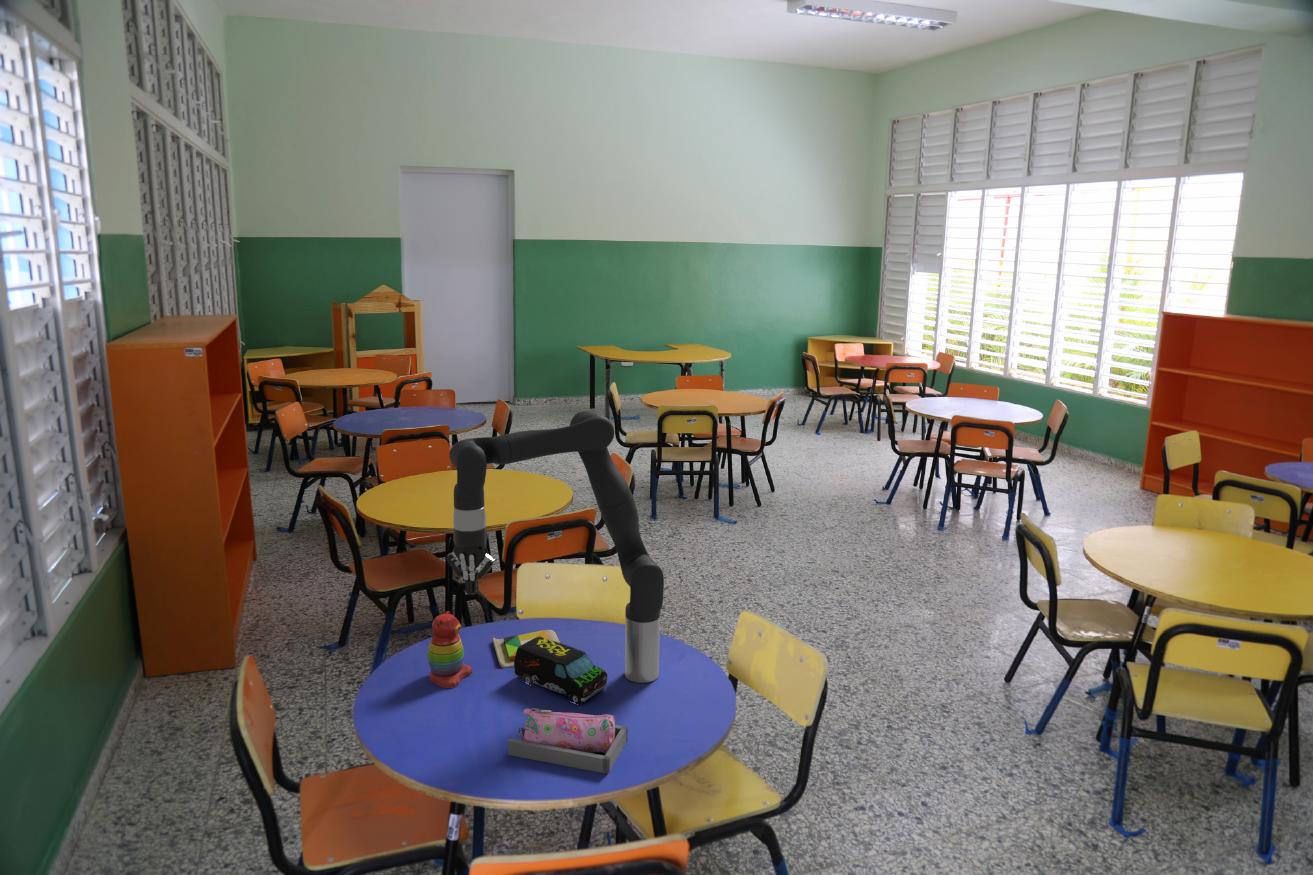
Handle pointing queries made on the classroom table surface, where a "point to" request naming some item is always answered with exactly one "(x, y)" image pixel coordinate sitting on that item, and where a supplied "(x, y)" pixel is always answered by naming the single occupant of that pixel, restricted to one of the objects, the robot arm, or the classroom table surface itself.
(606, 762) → the frame
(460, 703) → the classroom table surface
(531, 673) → the toy van
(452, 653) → the stacking bear
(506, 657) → the wooden puzzle
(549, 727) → the pencil case
